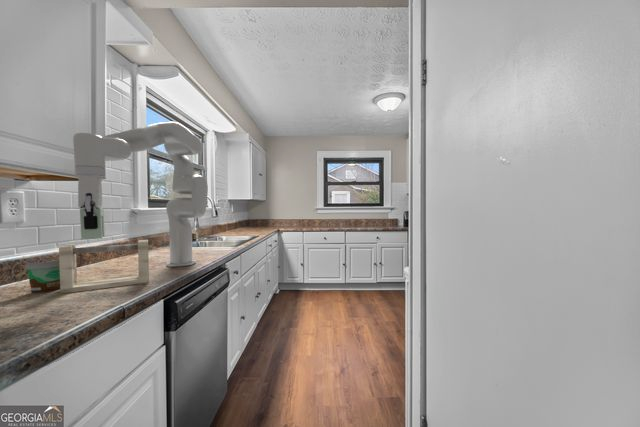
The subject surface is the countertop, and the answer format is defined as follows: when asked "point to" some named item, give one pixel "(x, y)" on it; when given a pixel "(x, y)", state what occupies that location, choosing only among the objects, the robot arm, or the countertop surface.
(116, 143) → the robot arm
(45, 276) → the food container
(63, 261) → the shelf stand
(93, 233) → the sage green brick
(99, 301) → the countertop surface
